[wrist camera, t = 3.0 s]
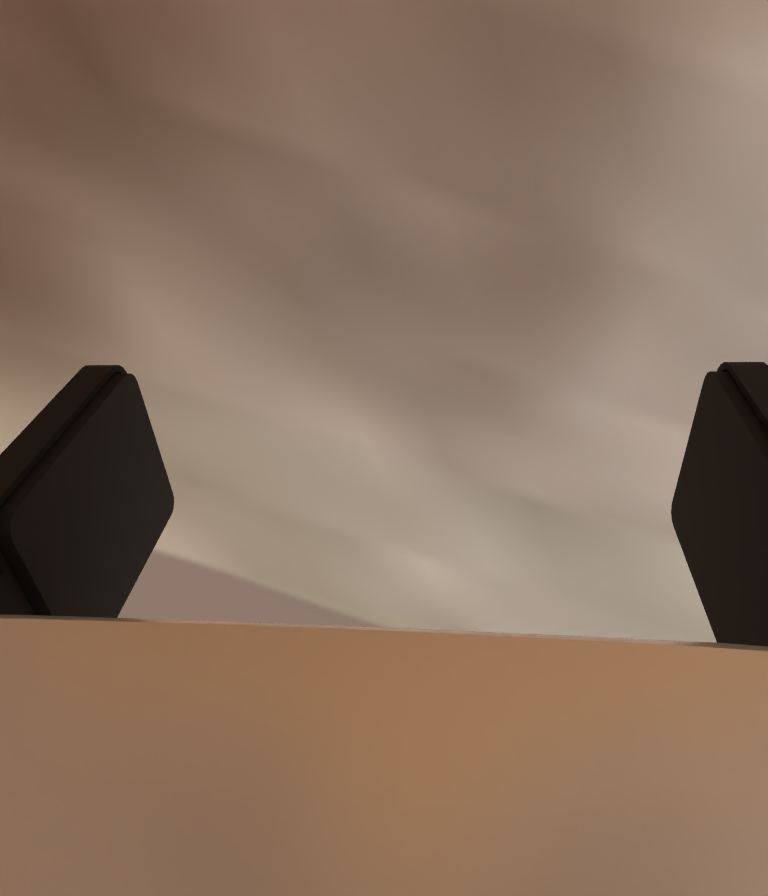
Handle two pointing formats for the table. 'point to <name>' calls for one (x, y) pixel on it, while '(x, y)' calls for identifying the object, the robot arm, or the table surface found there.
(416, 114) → the table surface
